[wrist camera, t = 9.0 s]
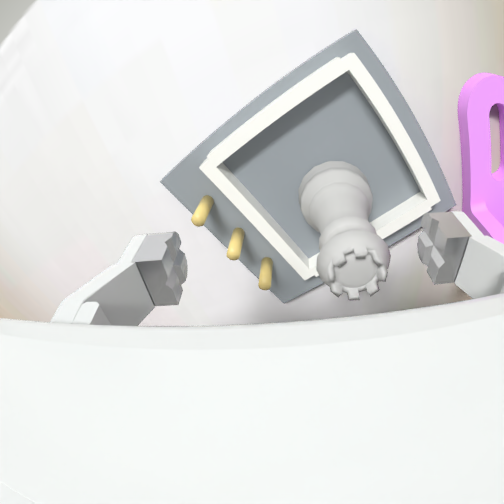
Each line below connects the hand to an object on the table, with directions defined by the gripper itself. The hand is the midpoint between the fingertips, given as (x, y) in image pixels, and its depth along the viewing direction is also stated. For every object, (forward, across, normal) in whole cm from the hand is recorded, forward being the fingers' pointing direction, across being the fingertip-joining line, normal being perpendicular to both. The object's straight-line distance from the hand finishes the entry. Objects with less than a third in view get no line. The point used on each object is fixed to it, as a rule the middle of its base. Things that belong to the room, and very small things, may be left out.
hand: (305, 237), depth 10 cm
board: (+10, -2, +3) cm, 10 cm away
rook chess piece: (+9, -3, +3) cm, 10 cm away
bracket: (+10, -15, +1) cm, 18 cm away
